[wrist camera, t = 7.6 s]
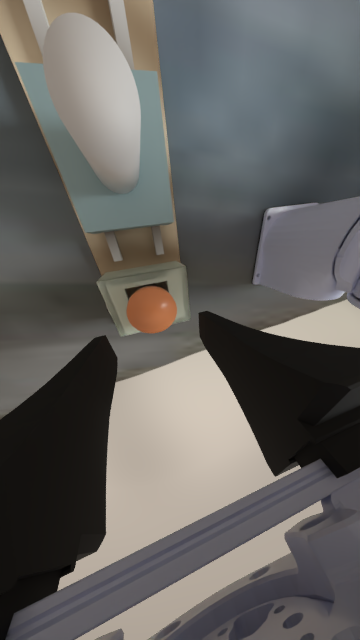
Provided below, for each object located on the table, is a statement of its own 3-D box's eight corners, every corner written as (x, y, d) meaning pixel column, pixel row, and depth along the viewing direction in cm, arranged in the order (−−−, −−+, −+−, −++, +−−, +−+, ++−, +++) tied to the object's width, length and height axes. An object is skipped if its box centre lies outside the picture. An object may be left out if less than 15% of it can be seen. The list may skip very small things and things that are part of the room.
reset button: (171, 309, 17) (179, 326, 14) (135, 317, 16) (135, 338, 13) (165, 273, 15) (173, 283, 11) (123, 281, 14) (118, 294, 10)
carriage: (168, 224, 14) (194, 212, 7) (94, 233, 13) (49, 228, 6) (152, 109, 10) (180, -127, 4) (46, 107, 9) (-199, -245, 2)
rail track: (183, 308, 21) (188, 316, 19) (123, 322, 19) (121, 332, 17) (117, -276, 6) (106, -587, 4) (-176, -412, 4) (-501, -1085, 2)
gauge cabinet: (179, 303, 20) (190, 319, 16) (121, 316, 19) (116, 337, 15) (174, 259, 17) (186, 266, 13) (103, 271, 16) (91, 283, 11)
